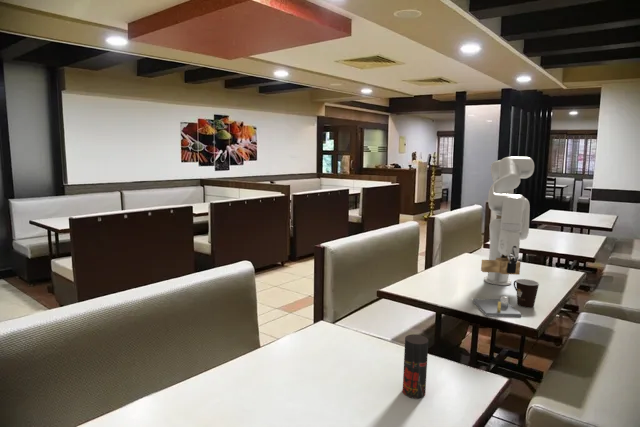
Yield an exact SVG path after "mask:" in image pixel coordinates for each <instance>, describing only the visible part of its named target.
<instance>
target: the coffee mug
mask: <svg viewBox="0 0 640 427" xmlns="http://www.w3.org/2000/svg"><path fill="white" fill-rule="evenodd" d="M539 286H540V283H539V282H538V281H535V280H533V279H528V278H527V279H526V278H519V279H516V280H514V281H513V288H514V290H515V291H516V304H517V306H519V307H522V308H528V309H529V308H534V307H535V302H536V298H537V293H538V289H539Z"/></svg>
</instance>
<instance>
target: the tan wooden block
mask: <svg viewBox="0 0 640 427" xmlns="http://www.w3.org/2000/svg"><path fill="white" fill-rule="evenodd" d="M511 259H512V258H511ZM508 263H509V260H508V258H496V260H489V259H481V268H480V271H481V272H482V273H488V272H497V273H501V274H509V275H516V276H517V275H520V272H521V261H519V260H517V264H516V273H507V265H508Z"/></svg>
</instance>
